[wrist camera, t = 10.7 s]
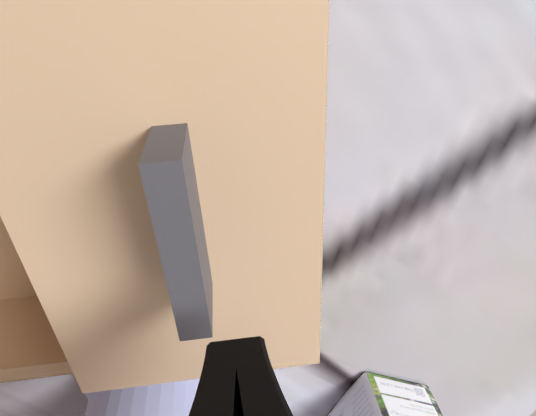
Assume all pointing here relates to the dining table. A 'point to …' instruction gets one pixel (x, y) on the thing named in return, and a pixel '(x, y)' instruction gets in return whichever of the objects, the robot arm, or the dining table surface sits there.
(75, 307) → the lid panel
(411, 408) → the white printed box
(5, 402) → the dining table surface
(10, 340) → the carton
